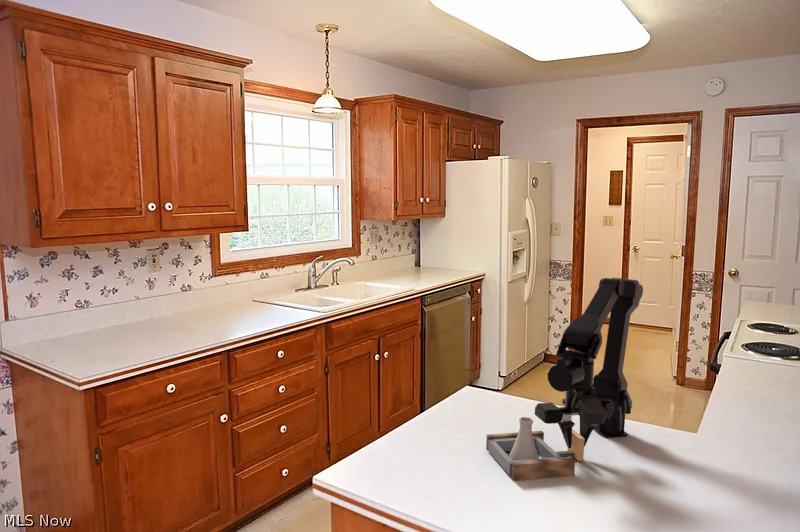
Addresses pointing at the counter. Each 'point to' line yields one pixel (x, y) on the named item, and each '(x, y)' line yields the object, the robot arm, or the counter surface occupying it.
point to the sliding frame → (502, 445)
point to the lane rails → (537, 463)
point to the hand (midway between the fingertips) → (575, 447)
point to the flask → (524, 442)
